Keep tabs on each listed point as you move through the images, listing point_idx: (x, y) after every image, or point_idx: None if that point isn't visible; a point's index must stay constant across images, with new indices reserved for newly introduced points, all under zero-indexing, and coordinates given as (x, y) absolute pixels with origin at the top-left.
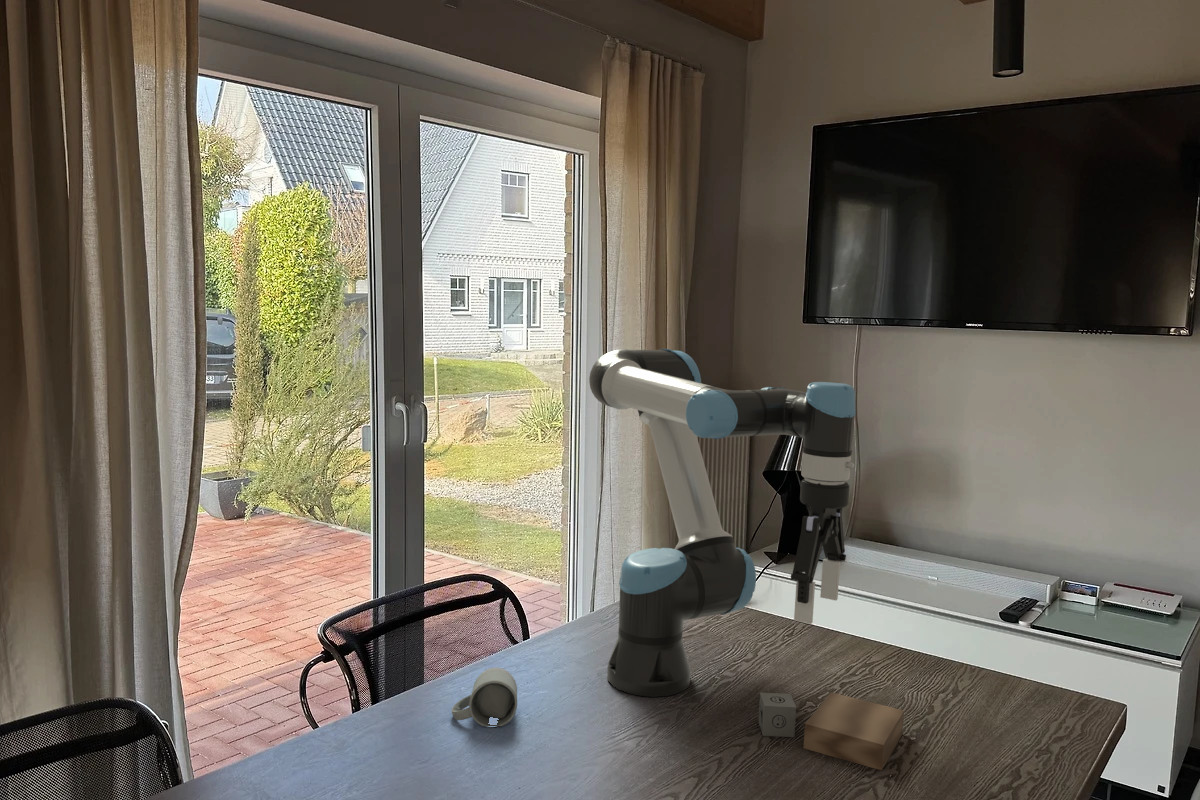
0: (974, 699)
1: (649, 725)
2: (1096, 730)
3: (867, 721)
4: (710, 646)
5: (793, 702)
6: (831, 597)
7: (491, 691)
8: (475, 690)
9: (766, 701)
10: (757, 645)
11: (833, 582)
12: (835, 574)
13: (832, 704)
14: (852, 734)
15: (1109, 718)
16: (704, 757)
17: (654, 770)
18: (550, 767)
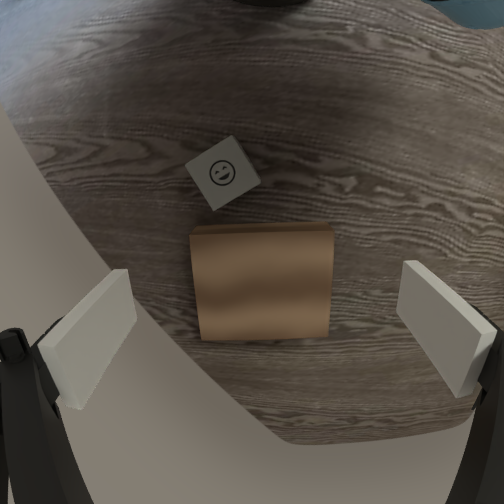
0: None
1: (130, 31)
2: (413, 431)
3: (258, 308)
4: None
5: (230, 200)
6: (401, 299)
7: None
8: None
9: (203, 159)
10: (483, 63)
11: (423, 331)
12: (436, 355)
13: (287, 247)
14: (202, 302)
15: (439, 429)
16: (94, 131)
17: (44, 109)
18: (11, 41)
